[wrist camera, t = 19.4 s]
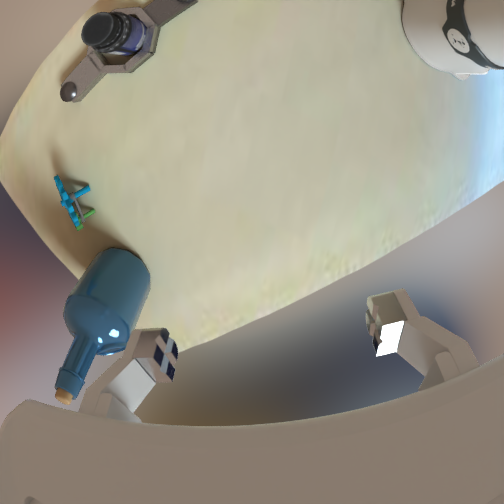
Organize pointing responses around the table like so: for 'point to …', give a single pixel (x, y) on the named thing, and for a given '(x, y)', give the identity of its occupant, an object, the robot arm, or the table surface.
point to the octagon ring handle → (96, 66)
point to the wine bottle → (101, 314)
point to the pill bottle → (114, 33)
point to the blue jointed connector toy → (70, 199)
